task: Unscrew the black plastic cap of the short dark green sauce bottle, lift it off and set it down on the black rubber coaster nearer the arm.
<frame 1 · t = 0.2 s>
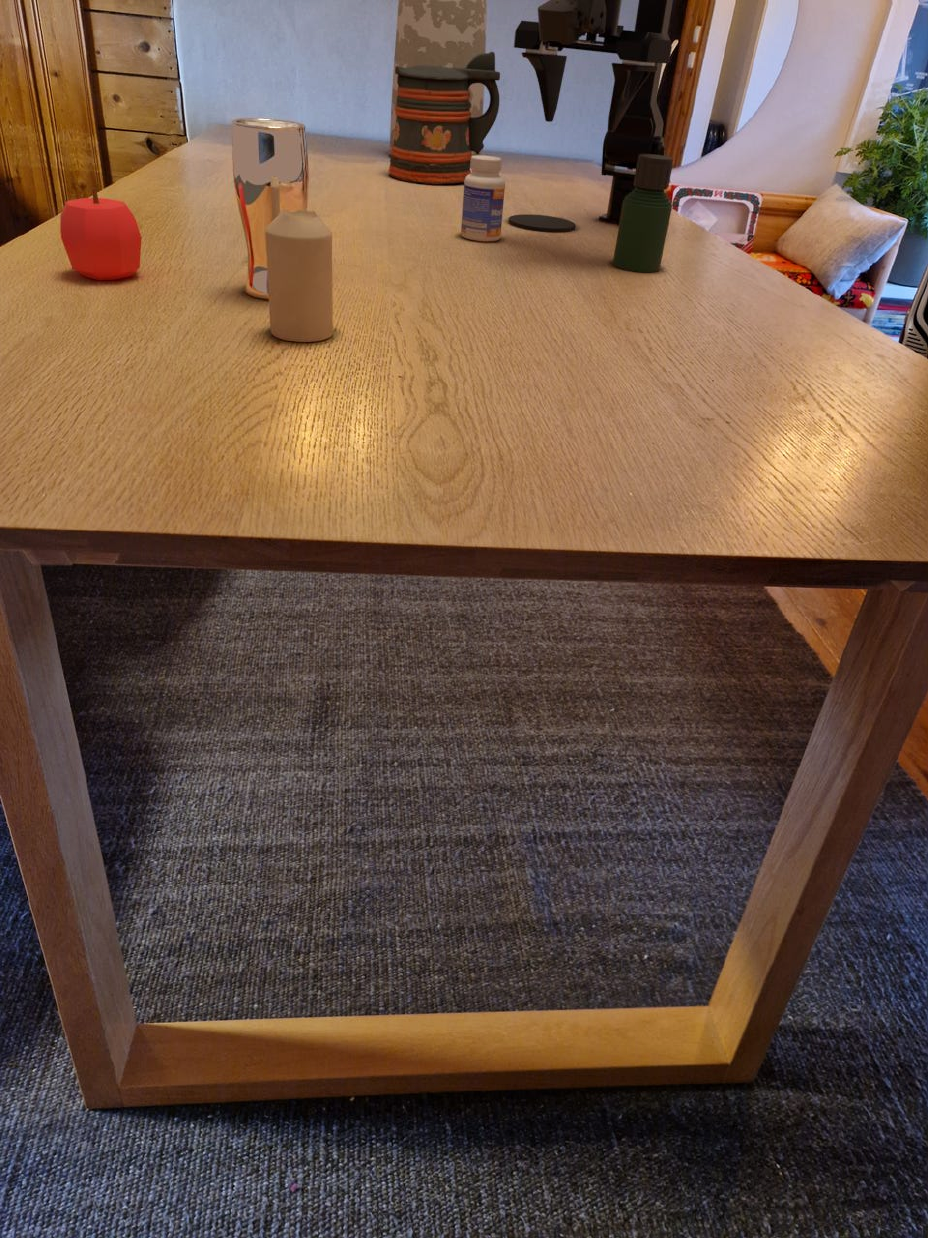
hand: (579, 126, 106), 14 cm above the table, tool pointing down, fingers open, 9 cm apart
apple: (107, 276, 88), on the table
candle: (301, 335, 77), on the table
beer glass: (276, 294, 88), on the table
pill bottle: (480, 239, 117), on the table
cap: (655, 160, 103), point 12 cm above the table, screwed on, not yet turned
beer stein: (440, 179, 157), on the table
bottle: (636, 266, 110), on the table
vase: (434, 159, 178), on the table
coaster: (541, 224, 128), on the table
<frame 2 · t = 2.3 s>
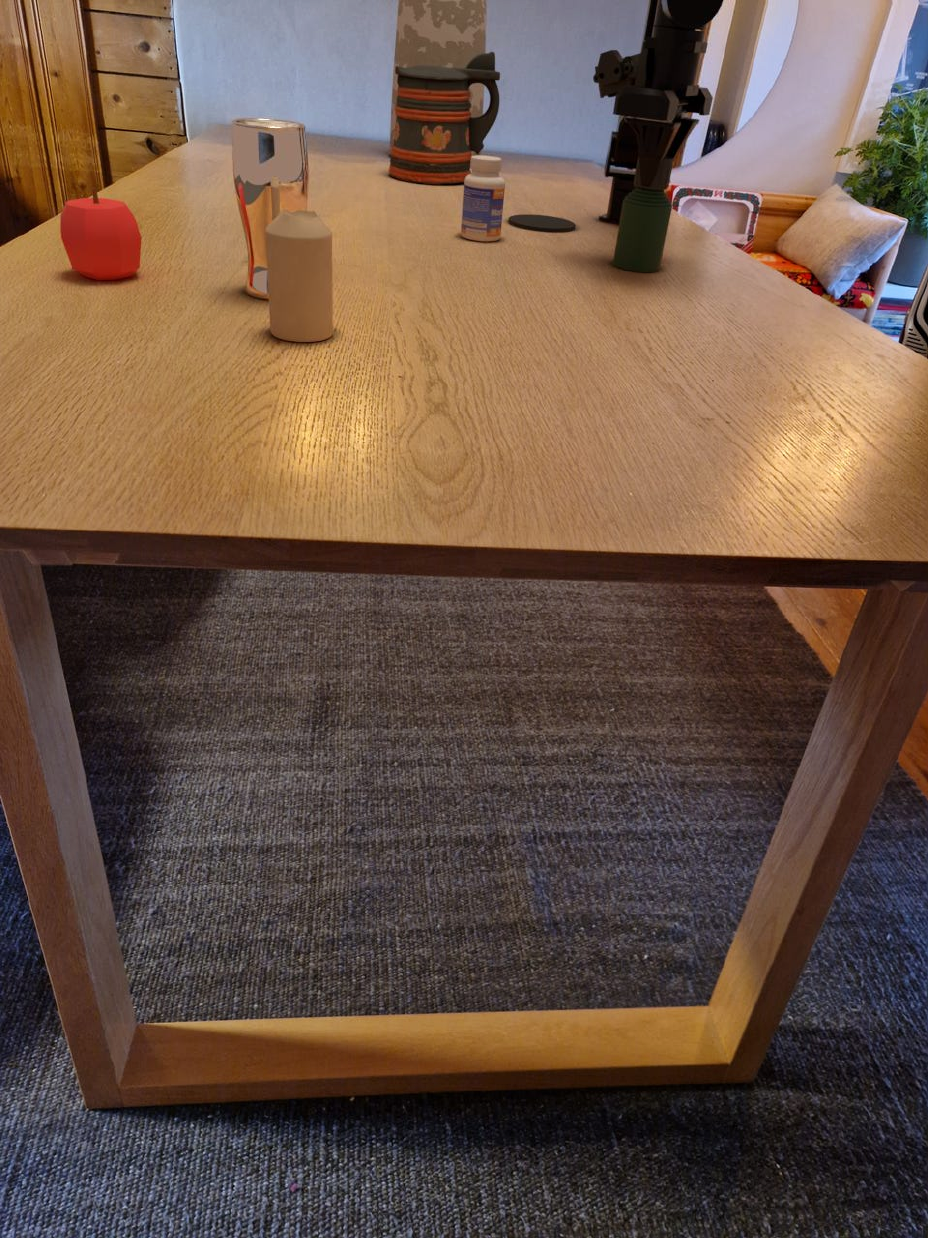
hand: (650, 183, 105), 10 cm above the table, tool pointing down, fingers closed on cap, 4 cm apart
cap: (655, 160, 103), point 12 cm above the table, screwed on, not yet turned, touching gripper
everything else where it was.
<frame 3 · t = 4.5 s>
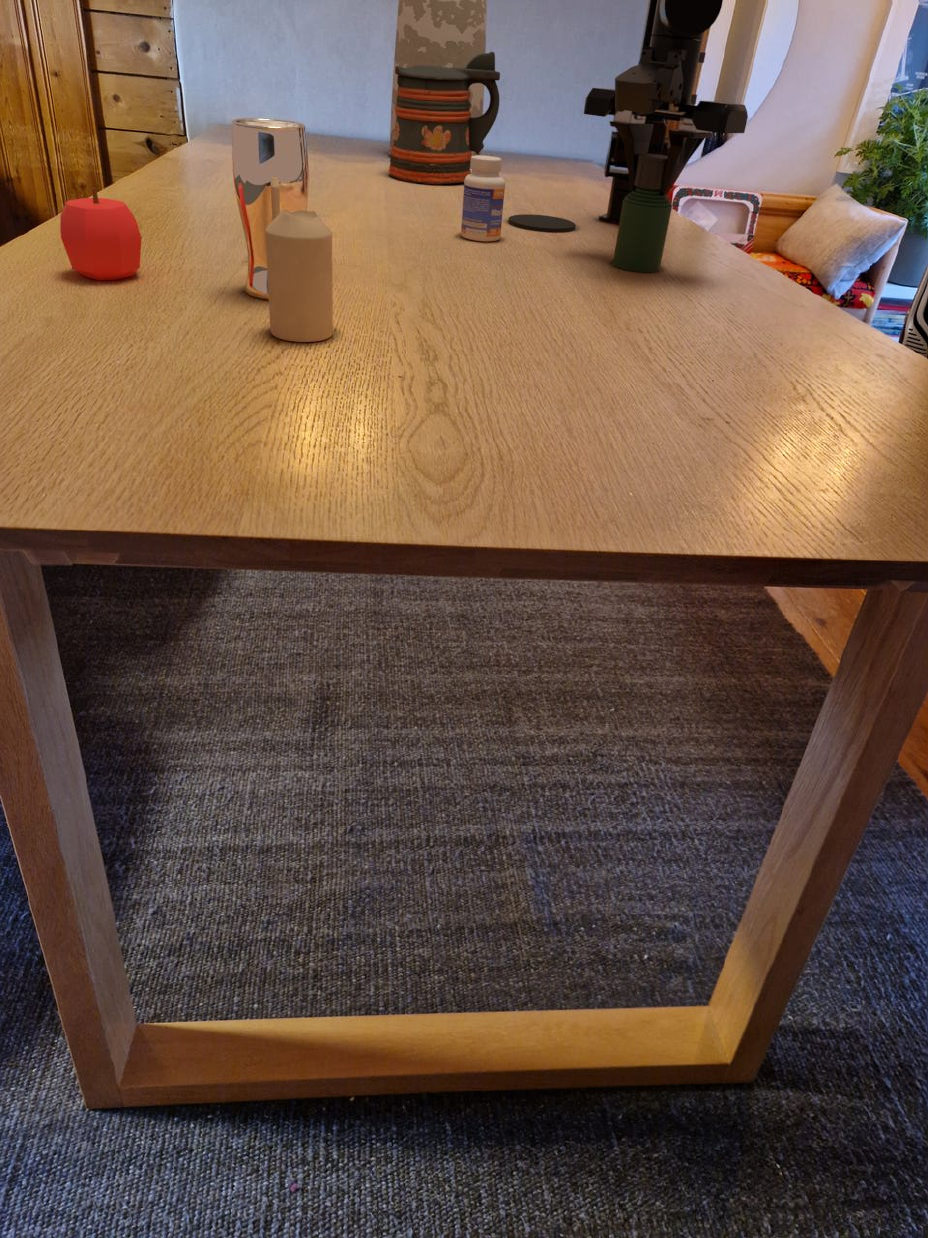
hand: (648, 192, 105), 9 cm above the table, tool pointing down, fingers closed on cap, 4 cm apart
cap: (655, 159, 103), point 12 cm above the table, turned 78° so far, risen 0.1 cm, still on its thread, touching gripper
bottle: (636, 266, 110), on the table, touching gripper
everything else where it was.
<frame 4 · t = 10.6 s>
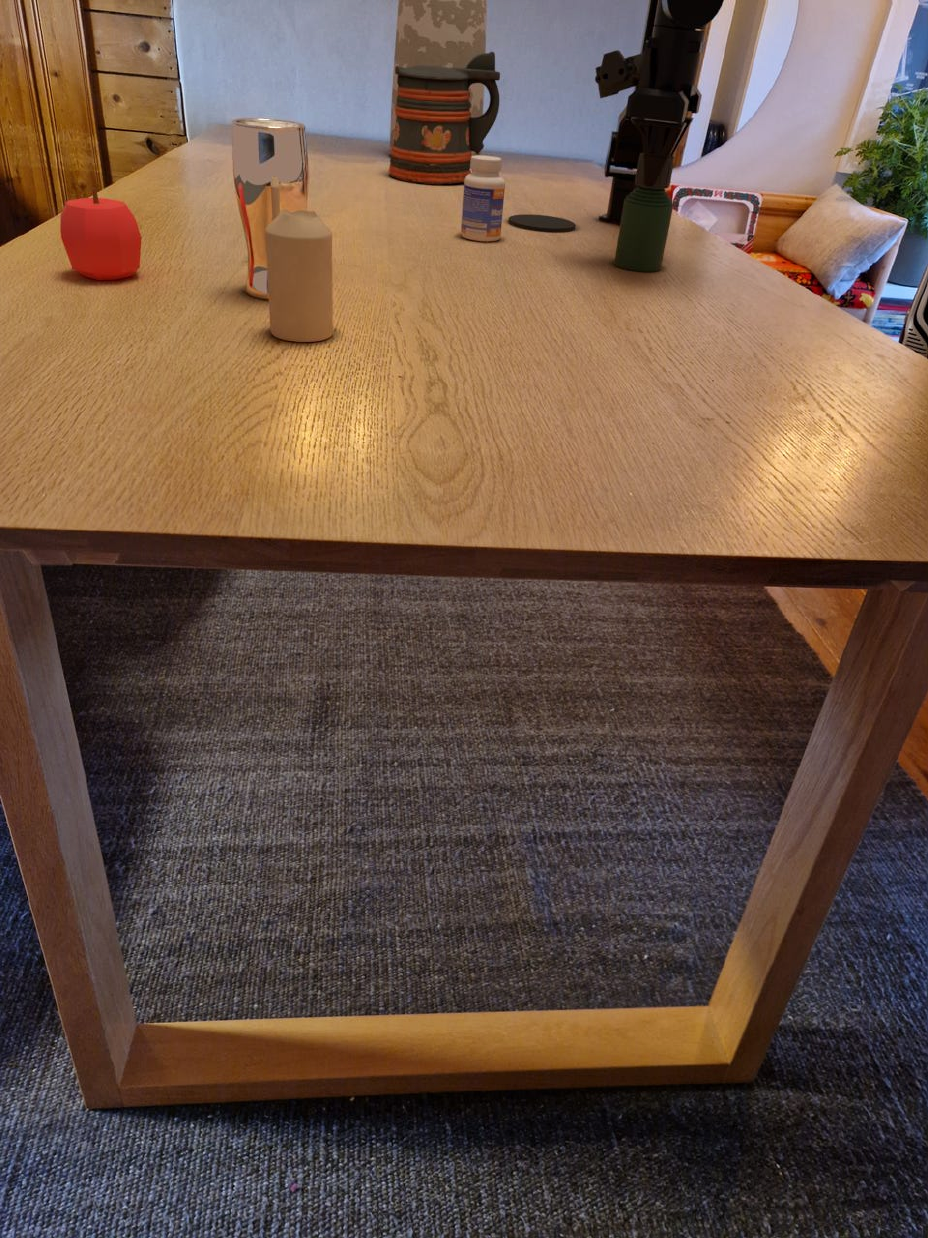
hand: (651, 183, 105), 10 cm above the table, tool pointing down, fingers closed on cap, 4 cm apart
cap: (656, 158, 103), point 12 cm above the table, turned 88° so far, risen 0.1 cm, still on its thread, touching gripper
bottle: (637, 265, 110), on the table
everything else where it was.
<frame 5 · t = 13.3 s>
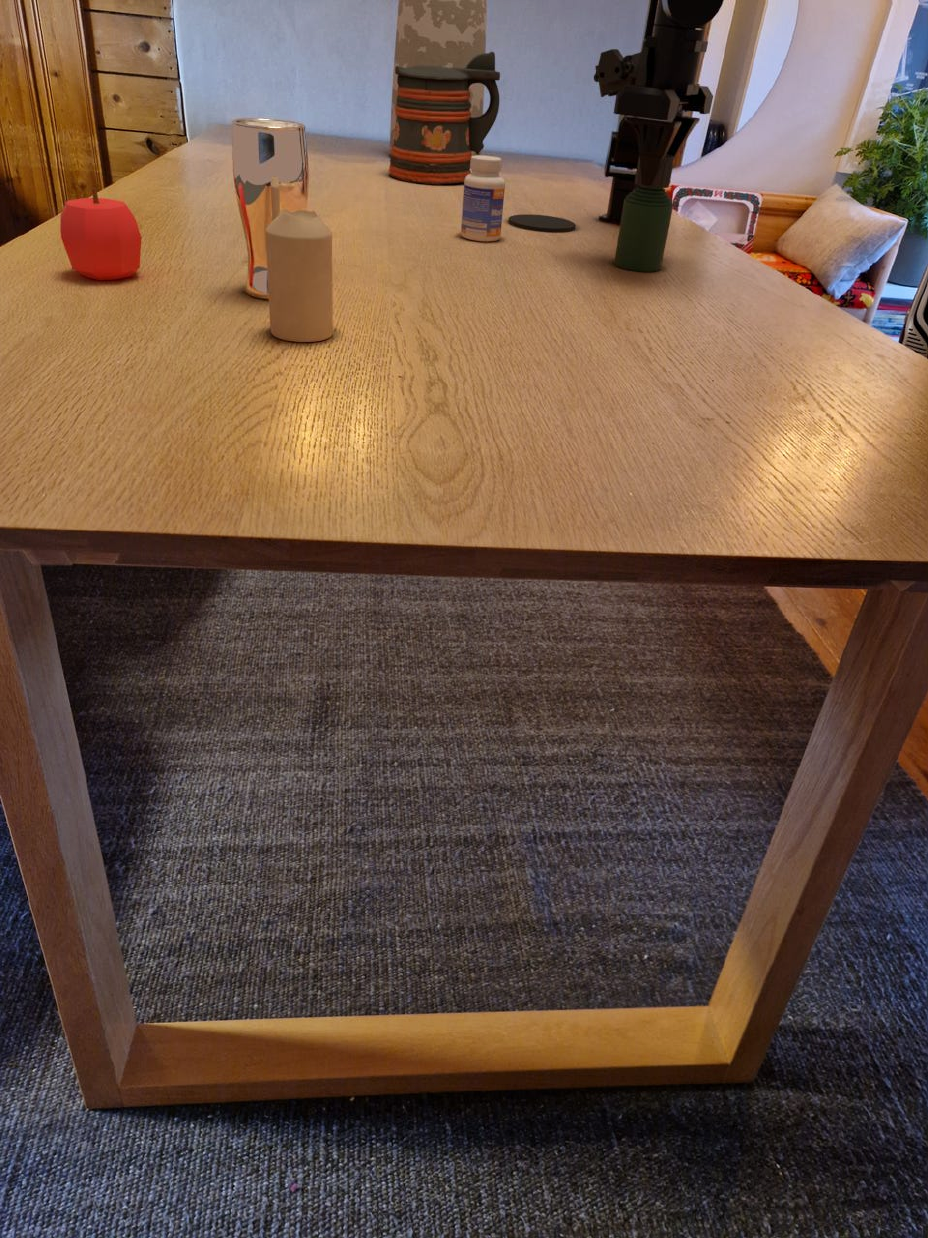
hand: (651, 182, 105), 10 cm above the table, tool pointing down, fingers closed on cap, 4 cm apart
cap: (656, 158, 103), point 12 cm above the table, turned 156° so far, risen 0.1 cm, still on its thread, touching gripper
everything else where it was.
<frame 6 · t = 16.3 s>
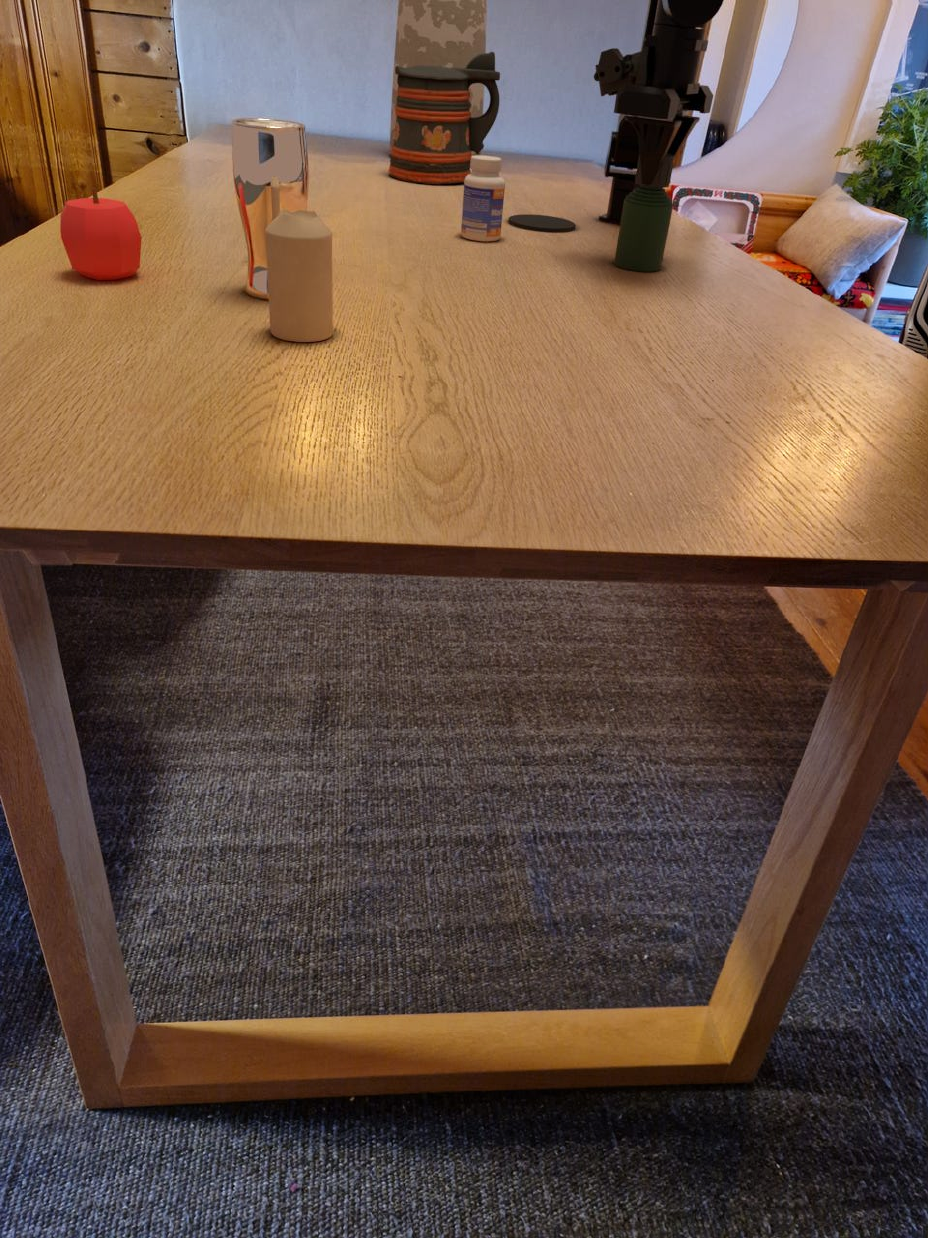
hand: (651, 182, 105), 10 cm above the table, tool pointing down, fingers closed on cap, 4 cm apart
cap: (656, 157, 103), point 12 cm above the table, turned 234° so far, risen 0.2 cm, still on its thread, touching gripper
everything else where it was.
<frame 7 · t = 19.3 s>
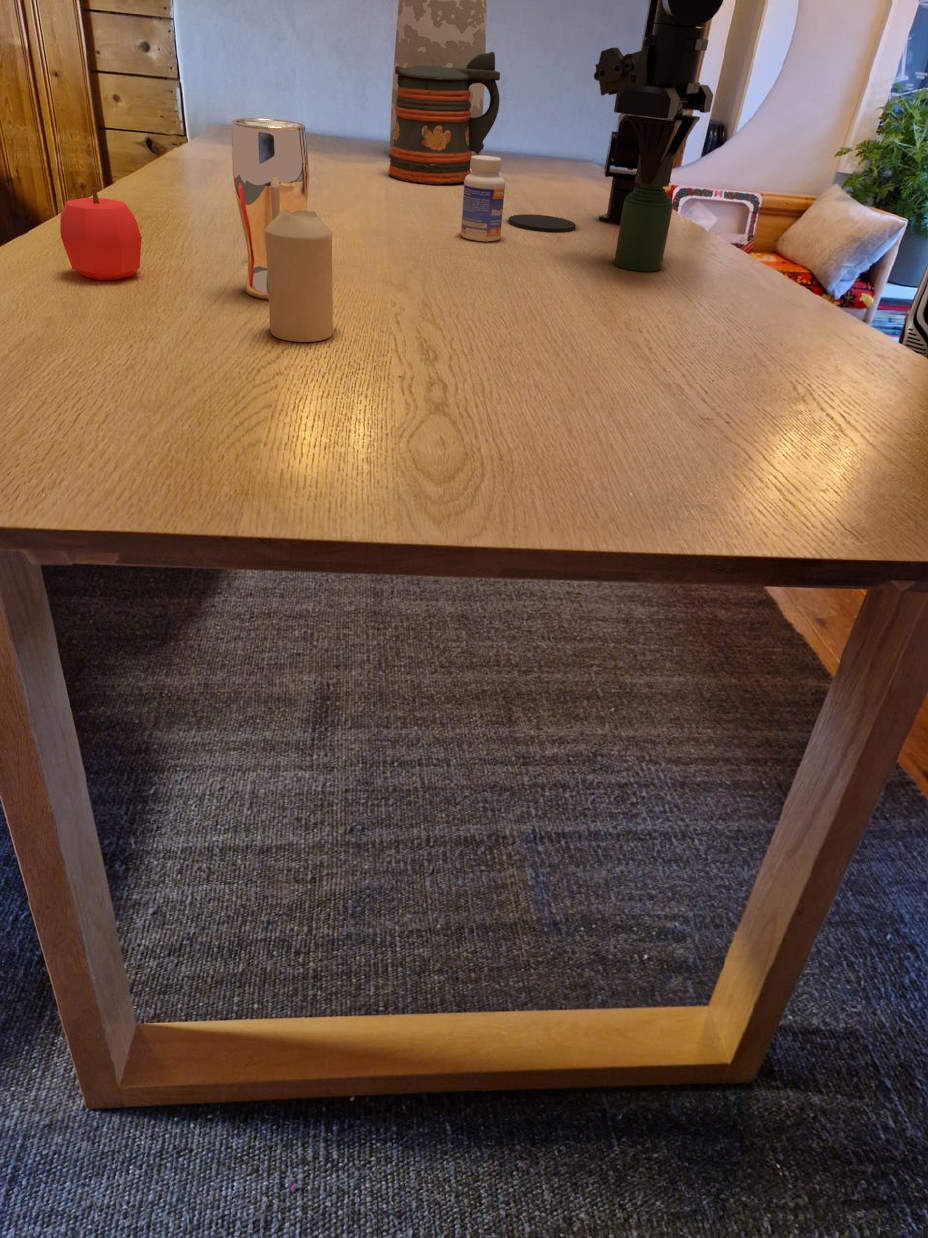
hand: (651, 181, 105), 10 cm above the table, tool pointing down, fingers closed on cap, 4 cm apart
cap: (656, 156, 103), point 12 cm above the table, turned 312° so far, risen 0.3 cm, still on its thread, touching gripper
everything else where it was.
when the fingers open (2 cm above the table, at t = 26.8 s): cap drops 2 cm, resting on coaster.
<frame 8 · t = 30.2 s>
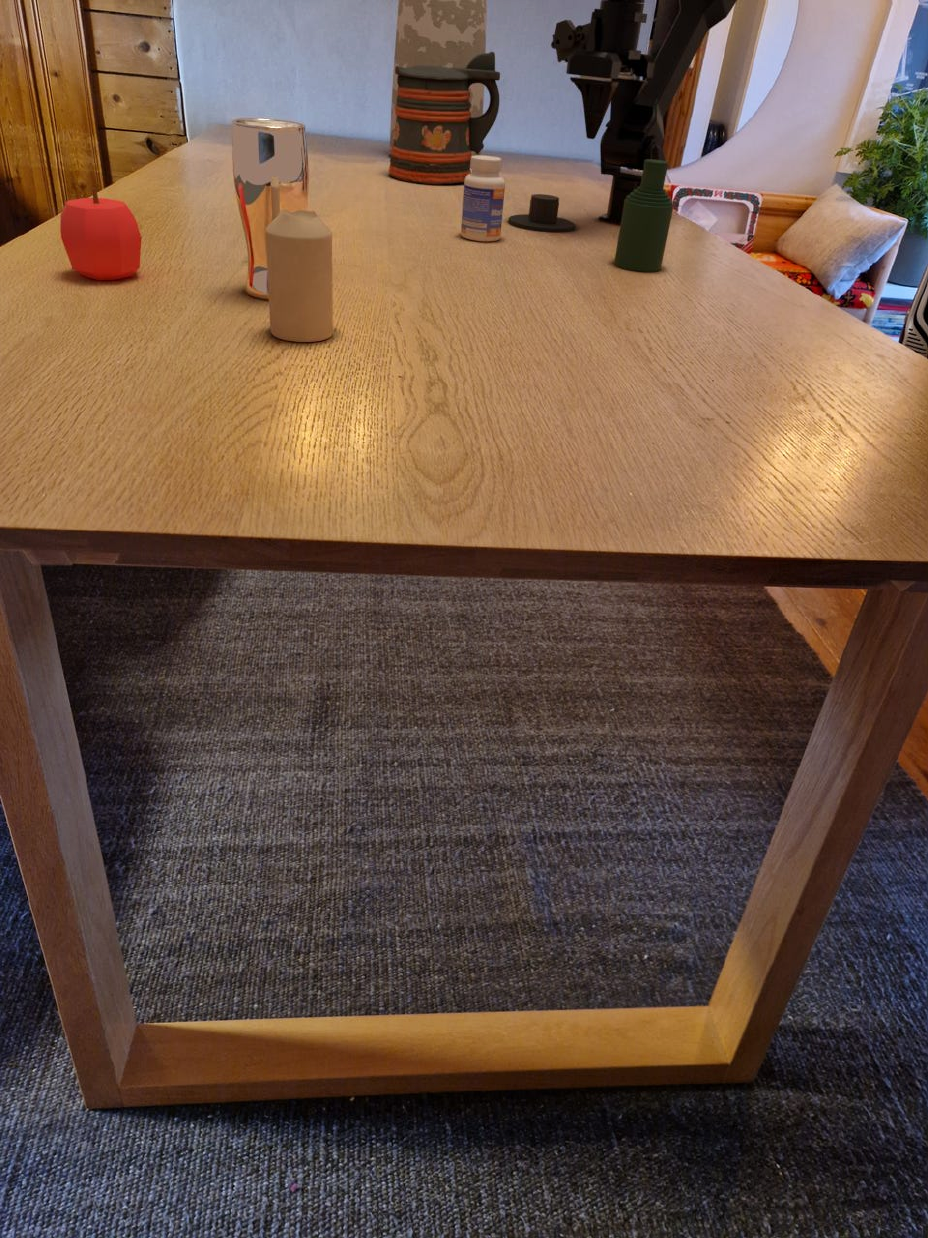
hand: (602, 136, 122), 12 cm above the table, tool pointing down, fingers open, 9 cm apart
cap: (544, 199, 126), point 3 cm above the table, off its thread, touching coaster
everything else where it was.
at the end: cap inside the target area on the coaster (0.0 cm from its centre), point 3.4 cm above the coaster's base; the gripper is holding nothing; bottle tilted 0° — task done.
